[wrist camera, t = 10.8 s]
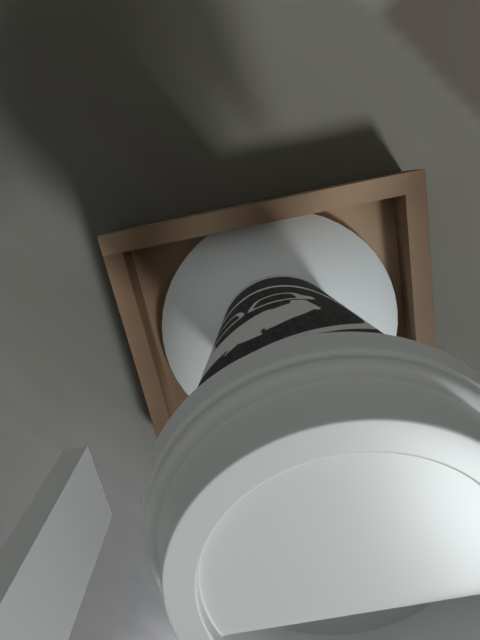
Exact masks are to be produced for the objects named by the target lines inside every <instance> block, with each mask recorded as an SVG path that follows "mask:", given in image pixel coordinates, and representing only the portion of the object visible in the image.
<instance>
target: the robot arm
mask: <svg viewBox="0 0 480 640" xmlns="http://www.w3.org/2000/svg"><path fill="white" fill-rule="evenodd" d="M111 518H112V513H111V510H110V507H109V505H108V502H107V499H106V496H105V494H104V491H103V488H102V485H101V482H100V480H99V477H98V474H97V471H96V468H95V466H94V463H93V460H92V457H91V454H90V452H89V449H88V446H84V447H79V448H74V449H69V450H64V451H63V453H62V454H61V456H60V457H59V459H58V461H57V462H56V464H55V465H54V467H53V468H52V470H51V472H50V473H49V475H48V476H47V478H46V479H45V481H44V483H43V484H42V486H41V487H40V489H39V490H38V492H37V494H36V495H35V497H34V498H33V500H32V502H31V503H30V505H29V506H28V508H27V509H26V511H25V513H24V514H23V516H22V517H21V519H20V520H19V522H18V524H17V525H16V527H15V528H14V530H13V531H12V533H11V535H10V536H9V538H8V539H7V541H6V542H5V544H4V546H3V547H2V549H1V550H0V640H68V639H69V636H70V633H71V631H72V628H73V625H74V622H75V619H76V617H77V614H78V611H79V608H80V605H81V603H82V600H83V597H84V594H85V591H86V588H87V586H88V583H89V580H90V577H91V574H92V572H93V569H94V566H95V563H96V560H97V557H98V555H99V552H100V549H101V546H102V543H103V541H104V538H105V535H106V532H107V529H108V527H109V524H110V521H111Z"/></svg>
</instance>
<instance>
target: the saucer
mask: <svg viewBox="0 0 480 640" xmlns="http://www.w3.org/2000/svg"><path fill="white" fill-rule="evenodd" d="M273 277H293V278H298V279H302V280H304V281H307V282H309V283H311V284H313V285H315V286H316V287H318V288H319V289H321V290H322V291H324V292H325V293H326V294H328V295H329V296H331V297H332V298H334V299H335V300H336V301H338V302H339V303H341V304H342V305H343V306H345V307H346V308H348V309H349V310H351V311H352V312H353V313H355V314H356V315H358V316H359V317H361V318H362V319H363V320H365V321H366V322H368V323H369V324H371V325H372V326H374V327H375V328H376V329H378V330H379V331H381V332H382V333H384V334H387V335H393V336H396V334H397V326H398V310H397V303H396V297H395V293H394V289H393V286H392V283H391V280H390V278H389V276H388V274H387V271H386V269H385V267H384V266H383V264H382V263H381V261H380V260H379V258H378V257H377V255H376V254H375V253H374V251H373V250H372V249H371V248H370V247H369V246H368V245H367V244H366V243H365V242H364V241H363V240H362V239H361V238H360V237H358V236H357V235H356V234H355V233H354V232H352V231H350V230H349V229H347V228H346V227H344V226H342V225H341V224H339V223H337V222H334V221H332V220H330V219H328V218H325V217H322V216H319V215H315V214H309V215H304V216H299V217H294V218H289V219H284V220H279V221H275V222H270V223H265V224H260V225H255V226H250V227H245V228H240V229H235V230H230V231H225V232H220V233H216V234H211V235H208V236H206V237H205V238H204V239H203V240H201V241H200V242H199V243H198V244H197V245H196V246H195V247H194V249H193V250H192V251H191V252H190V253H189V254H188V255H187V257H186V258H185V260H184V261H183V262H182V264H181V265H180V266H179V268H178V270H177V272H176V274H175V276H174V277H173V279H172V281H171V284H170V287H169V289H168V292H167V295H166V299H165V303H164V308H163V317H162V335H163V343H164V348H165V353H166V356H167V359H168V362H169V365H170V367H171V369H172V371H173V373H174V375H175V377H176V379H177V381H178V382H179V384H180V385H181V387H182V388H183V390H184V391H185V392H186V393H187V394H188V395H190V394H191V393H192V392H193V391H194V390H195V389H197V387H198V385H199V382H200V380H201V377H202V375H203V372H204V369H205V367H206V364H207V362H208V359H209V356H210V354H211V351H212V349H213V346H214V343H215V341H216V338H217V336H218V333H219V330H220V328H221V325H222V322H223V320H224V317H225V315H226V312H227V310H228V308H229V307H230V305H231V304H232V302H233V301H234V299H235V298H236V297H237V296H238V295H239V294H240V293H241V292H242V291H244V290H245V289H246V288H248V287H249V286H251V285H253V284H254V283H257V282H259V281H261V280H264V279H268V278H273Z"/></svg>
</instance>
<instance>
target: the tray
mask: <svg viewBox="0 0 480 640" xmlns="http://www.w3.org/2000/svg"><path fill="white" fill-rule="evenodd" d="M309 214H315V215H319V216H322V217H325V218H328V219H330V220H332V221H334V222H337V223H339V224H341V225H342V226H344V227H346V228H347V229H349V230H350V231H352V232H354V233H355V234H356V235H357V236H358V237H360V238H361V239H362V240H363V241H364V242H365V243H366V244H367V245H368V246H369V247H370V248H371V249H372V250H373V251H374V253H375V254H376V255H377V257H378V258H379V260H380V261H381V263H382V264H383V266H384V267H385V269H386V271H387V274H388V276H389V278H390V280H391V283H392V286H393V289H394V293H395V297H396V303H397V310H398V326H397V334H396V336H398V337H403V338H407V339H410V340H414V341H417V342H420V343H423V344H426V345H429V346H431V347H434V348H436V342H435V325H434V308H433V291H432V274H431V257H430V240H429V223H428V206H427V189H426V172H425V169H418V170H409V171H401V172H397V173H392V174H387V175H382V176H377V177H372V178H368V179H363V180H358V181H353V182H348V183H343V184H338V185H334V186H329V187H324V188H319V189H314V190H309V191H305V192H300V193H295V194H290V195H285V196H280V197H275V198H271V199H266V200H261V201H256V202H251V203H246V204H241V205H237V206H232V207H227V208H222V209H217V210H212V211H208V212H203V213H198V214H193V215H188V216H183V217H178V218H174V219H169V220H164V221H159V222H154V223H149V224H145V225H140V226H135V227H130V228H125V229H120V230H115V231H112V232H109V233H105V234H102V235H99V236H97V239H98V242H99V245H100V249H101V252H102V255H103V259H104V262H105V265H106V269H107V272H108V275H109V279H110V282H111V285H112V289H113V292H114V295H115V299H116V302H117V305H118V309H119V312H120V315H121V319H122V322H123V325H124V329H125V332H126V336H127V339H128V342H129V346H130V349H131V352H132V356H133V359H134V362H135V366H136V369H137V372H138V376H139V379H140V382H141V386H142V389H143V392H144V396H145V399H146V402H147V406H148V409H149V412H150V416H151V419H152V422H153V426H154V429H155V433H156V436H157V438H158V437H159V435H160V433H161V431H162V429H163V428H164V426H165V425H166V423H167V422H168V420H169V419H170V417H171V416H172V415H173V413H174V412H175V411H176V410H177V408H178V407H179V406H180V405H181V404H182V402H183V401H184V400H185V399H186V398H187V397H188V396H189V395H188V394H187V393H186V392H185V391H184V390H183V388H182V387H181V385H180V384H179V382H178V381H177V379H176V377H175V375H174V373H173V371H172V369H171V367H170V365H169V362H168V359H167V356H166V353H165V348H164V343H163V335H162V317H163V308H164V303H165V299H166V295H167V292H168V289H169V287H170V284H171V281H172V279H173V277H174V276H175V274H176V272H177V270H178V268H179V266H180V265H181V264H182V262H183V261H184V260H185V258H186V257H187V255H188V254H189V253H190V252H191V251H192V250H193V249H194V247H195V246H196V245H197V244H198V243H199V242H200V241H201V240H203V239H204V238H205V237H206V236H208V235H211V234H216V233H220V232H225V231H230V230H235V229H240V228H245V227H250V226H255V225H260V224H265V223H270V222H275V221H279V220H284V219H289V218H294V217H299V216H304V215H309Z"/></svg>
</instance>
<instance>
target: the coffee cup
mask: <svg viewBox="0 0 480 640" xmlns="http://www.w3.org/2000/svg"><path fill="white" fill-rule="evenodd" d="M142 525H143V535H144V541H145V546H146V550H147V554H148V558H149V562H150V566H151V569H152V572H153V575H154V578H155V580H156V583H157V585H158V587H159V589H160V591H161V593H162V596H163V602H164V607H165V610H166V614H167V617H168V620H169V622H170V625H171V627H172V629H173V631H174V633H175V635H176V637H177V639H178V640H480V375H479V374H478V373H476V372H475V371H474V370H473V369H471V368H470V367H468V366H467V365H466V364H464V363H462V362H461V361H459V360H458V359H456V358H454V357H452V356H451V355H449V354H447V353H445V352H443V351H441V350H438V349H436V348H434V347H431V346H429V345H426V344H423V343H420V342H417V341H414V340H410V339H407V338H403V337H398V336H393V335H387V334H384V333H382V332H381V331H379V330H378V329H376V328H375V327H374V326H372V325H371V324H369V323H368V322H366V321H365V320H363V319H362V318H361V317H359V316H358V315H356V314H355V313H353V312H352V311H351V310H349V309H348V308H346V307H345V306H343V305H342V304H341V303H339V302H338V301H336V300H335V299H334V298H332V297H331V296H329V295H328V294H326V293H325V292H324V291H322V290H321V289H319V288H318V287H316V286H315V285H313V284H311V283H309V282H307V281H304V280H302V279H298V278H293V277H273V278H268V279H264V280H261V281H259V282H257V283H254V284H253V285H251V286H249V287H248V288H246V289H245V290H244V291H242V292H241V293H240V294H239V295H238V296H237V297H236V298H235V299H234V301H233V302H232V304H231V305H230V307H229V308H228V310H227V312H226V315H225V317H224V320H223V322H222V325H221V328H220V330H219V333H218V336H217V338H216V341H215V343H214V346H213V349H212V351H211V354H210V356H209V359H208V362H207V364H206V367H205V369H204V372H203V375H202V377H201V380H200V382H199V385H198V387H197V389H195V390H194V391H193V392H192V393H191V394H190V395H189V396H188V397H187V398H186V399H185V400H184V401H183V402H182V404H181V405H180V406H179V407H178V408H177V410H176V411H175V412H174V413H173V415H172V416H171V417H170V419H169V420H168V422H167V423H166V425H165V426H164V428H163V429H162V431H161V433H160V435H159V437H158V438H157V440H156V442H155V445H154V447H153V449H152V452H151V454H150V457H149V460H148V463H147V467H146V470H145V475H144V480H143V487H142Z"/></svg>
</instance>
